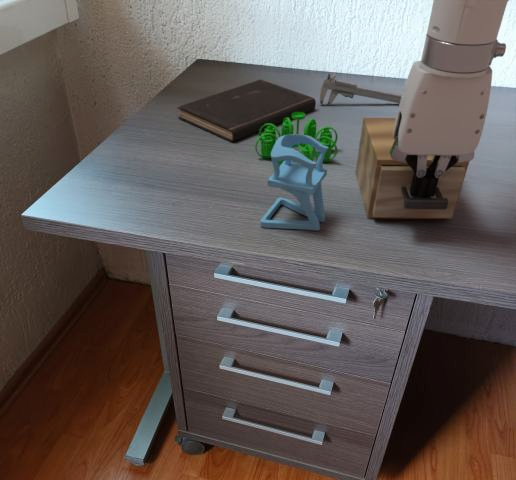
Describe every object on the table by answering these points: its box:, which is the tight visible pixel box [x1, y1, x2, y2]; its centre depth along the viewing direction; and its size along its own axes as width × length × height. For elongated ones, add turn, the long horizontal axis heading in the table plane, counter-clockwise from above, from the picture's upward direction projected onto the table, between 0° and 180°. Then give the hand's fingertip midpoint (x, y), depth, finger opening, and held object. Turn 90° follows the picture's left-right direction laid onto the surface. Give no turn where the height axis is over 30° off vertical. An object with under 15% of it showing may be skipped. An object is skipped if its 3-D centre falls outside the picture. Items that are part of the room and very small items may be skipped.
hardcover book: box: [177, 79, 317, 143], centre depth 105 cm, size 16×23×2 cm
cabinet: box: [355, 117, 470, 220], centre depth 80 cm, size 15×13×9 cm
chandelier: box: [254, 112, 338, 167], centre depth 91 cm, size 15×15×7 cm
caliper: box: [319, 72, 402, 107], centre depth 108 cm, size 20×1×6 cm, turn 93°
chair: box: [260, 133, 328, 231], centre depth 73 cm, size 8×8×12 cm
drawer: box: [372, 165, 467, 219], centre depth 77 cm, size 18×11×7 cm, turn 179°
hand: (420, 200), depth 73 cm, fingers closed
